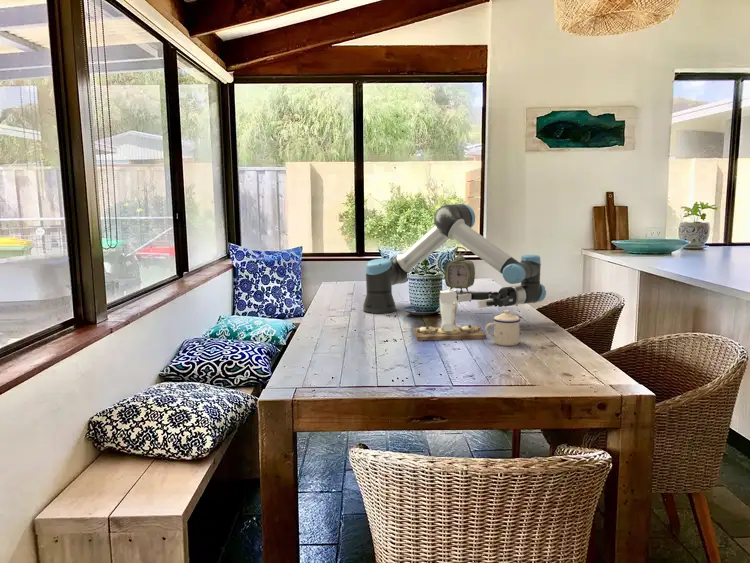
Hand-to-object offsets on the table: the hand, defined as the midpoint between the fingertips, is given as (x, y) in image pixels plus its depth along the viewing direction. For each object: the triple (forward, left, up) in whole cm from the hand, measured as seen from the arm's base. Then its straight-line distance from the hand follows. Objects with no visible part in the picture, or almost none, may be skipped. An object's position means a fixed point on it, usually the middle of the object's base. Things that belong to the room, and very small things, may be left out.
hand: (467, 301), depth 212 cm
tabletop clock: (+13, +86, -12) cm, 88 cm away
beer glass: (-8, -4, -10) cm, 13 cm away
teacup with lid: (+9, -17, -12) cm, 23 cm away
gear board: (-8, -4, -12) cm, 15 cm away
